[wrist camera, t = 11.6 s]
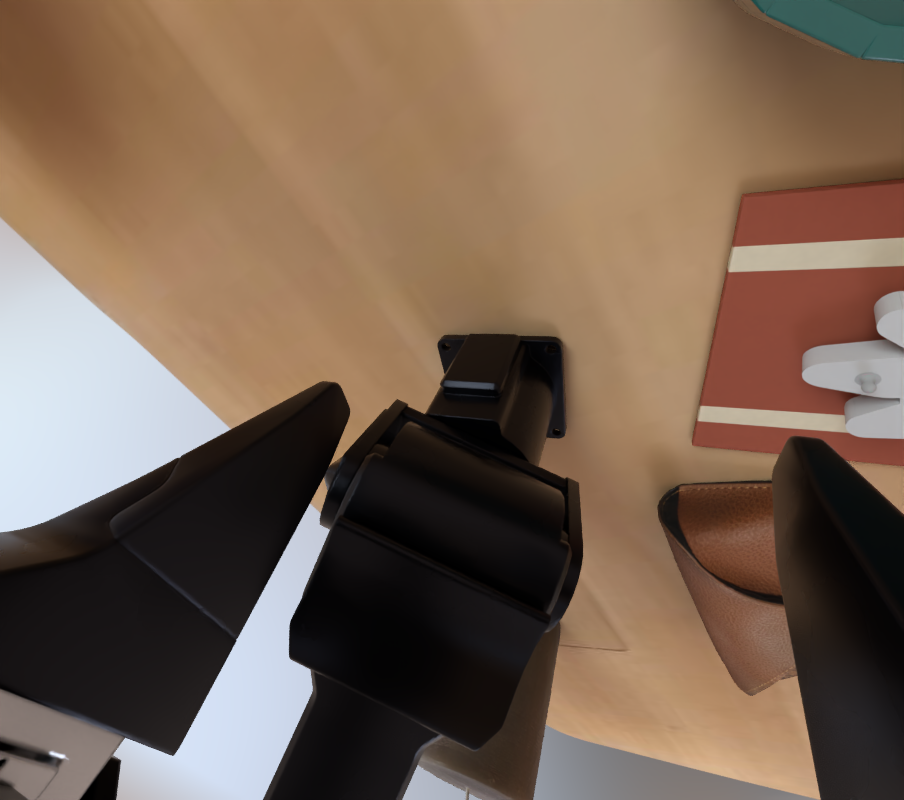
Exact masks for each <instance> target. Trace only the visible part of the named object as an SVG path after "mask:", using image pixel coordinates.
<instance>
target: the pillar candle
mask: <svg viewBox="0 0 904 800" xmlns="http://www.w3.org/2000/svg"><path fill="white" fill-rule="evenodd" d="M559 639H560V624H559V622H558V624H557V625H556V626H555V627H554V628H553V629H552V630H551V631H549V632H546V633H544V634H543V636H542V638H541V639H540V641H539V642H538V644H537V645H536V647H535V649H534V651H533V653H532V655H531V657H530V659H529V661H528V663H527V665H526V667H525V669H524V672H523V674H522V677H521V679H520V682H519V684H518V687H517V689H516V692H515V695H514V697H513V700H512V703H511V705H510V708H509V711H508V713H507V716H506V719H505V722H504V724H503V726H502V728H501V729H500V730H499V732H497V733H496V734H495V735H494V736H493V737H492V738H491V739H490V740H489V741H488V742H487V743H486V744H484V745H483V746H482V747H481V748H480V749H479V750H477V751H472V750H470V749H468V748H466V747H464V746H462V745H460V744H458V743H456V742H454V741H452V740H450V739H448V738H446V737H443V738H441V739H439V740H438V741H436V742H434V743H433V744H431V745H429V746H428V747H426V749H425V750H424V752H423V754H422V756H421V758H420V760H419V763H418V765H419V766H420V767H421V768H423V769H424V770H426V771H429V772H430V773H432V774H433V775H435V776H436V777H438V778H440V779H442V780H443V781H446V782H448V783H449V784H452V785H453V786H456V787H457V788H460V789H461V790H464V791H466V800H468V799H469V793H470V794H472V795H474V796H475V797H477V798H480V799H482V800H533V797H534V790H535V785H536V778H537V773H538V767H539V760H540V755H541V749H542V742H543V737H544V730H545V724H546V719H547V713H548V707H549V701H550V696H551V688H552V682H553V675H554V669H555V664H556V657H557V651H558V645H559Z"/></svg>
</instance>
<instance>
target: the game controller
mask: <svg viewBox="0 0 904 800" xmlns="http://www.w3.org/2000/svg"><path fill="white" fill-rule="evenodd" d="M874 315H875V320H876V326H877V331H878V333H879V334H880V335H881V336H883V337H885V338H886V339H888V340H875V341H865V342H854V343H844V344H833V345H823V346H817V347H814V348H811V349H809V350H808V351H806V352H805V353H804V354H803V357H802V378H803V379H804V380H805V381H806V382H807V383H809V384H811V385H814V386H818V387H823V388H828V389H834V390H840V391H845V392H851V393H856V394H862V395H860V396H857V397H854V398H852V399H850V400H848V401H847V402H846V403H845V406H844V411H845V425H846V430H847V431H848V432H849V433H850V434H852V435H854V436H858V437H864V438H891V439H904V291H897V292H893V293H889V294H887V295H885V296H883V297H882V298H880V299H879V300H878V301H877V302H876V304H875V306H874Z"/></svg>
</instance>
